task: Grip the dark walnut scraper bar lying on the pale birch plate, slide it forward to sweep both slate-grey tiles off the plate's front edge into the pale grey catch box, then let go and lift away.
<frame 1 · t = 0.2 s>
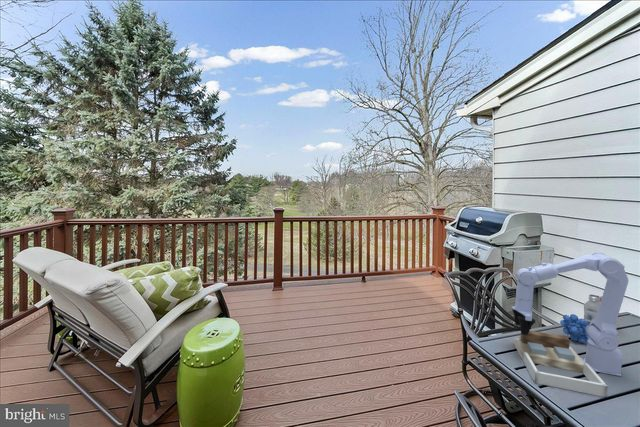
hand: (521, 329, 121), 10 cm above the table, tool pointing down, fingers open, 7 cm apart
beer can: (603, 330, 141), on the table
catch box: (561, 377, 107), on the table
birch plate: (547, 357, 119), on the table
far tile: (536, 351, 118), point 3 cm above the table, touching birch plate
grapes: (574, 341, 131), on the table
scraper bar: (543, 344, 123), point 3 cm above the table, touching birch plate
plastic bottle: (589, 338, 134), on the table
near tile: (563, 355, 115), point 3 cm above the table, touching birch plate
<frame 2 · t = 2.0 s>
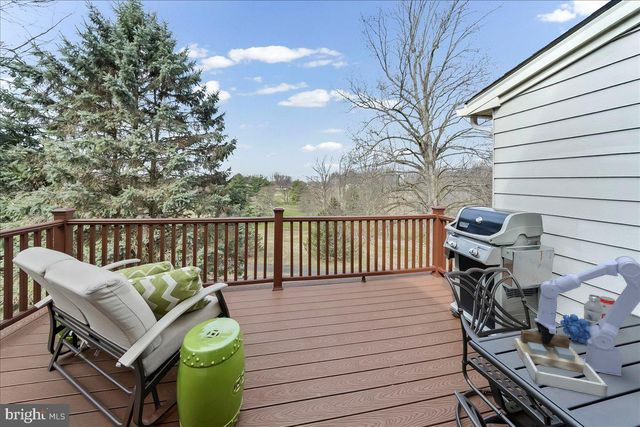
hand: (544, 341, 123), 4 cm above the table, tool pointing down, fingers closed on scraper bar, 3 cm apart
scraper bar: (543, 344, 123), point 3 cm above the table, touching birch plate, gripper
everything else where it was.
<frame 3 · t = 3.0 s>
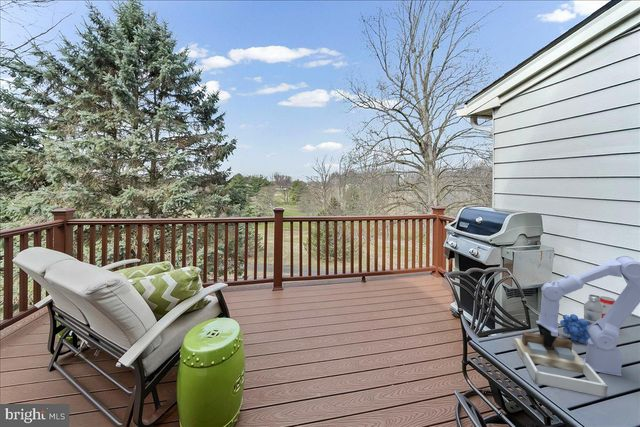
hand: (546, 344, 121), 4 cm above the table, tool pointing down, fingers closed on scraper bar, 3 cm apart
scraper bar: (545, 347, 121), point 3 cm above the table, touching gripper
everything else where it was.
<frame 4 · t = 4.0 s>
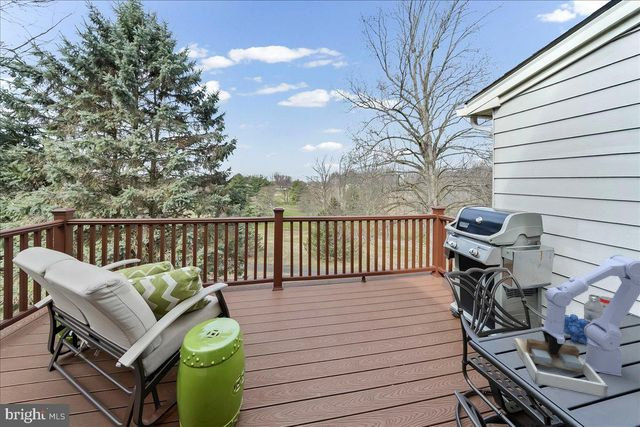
hand: (551, 351, 115), 4 cm above the table, tool pointing down, fingers closed on scraper bar, 3 cm apart
far tile: (540, 358, 113), point 3 cm above the table, touching birch plate, scraper bar
scraper bar: (551, 354, 116), point 3 cm above the table, touching far tile, gripper
near tile: (569, 363, 110), point 3 cm above the table
everything else where it was.
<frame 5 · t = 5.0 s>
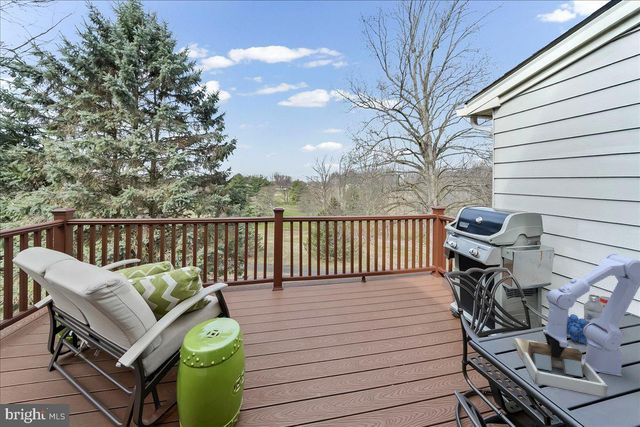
hand: (553, 354, 113), 4 cm above the table, tool pointing down, fingers closed on scraper bar, 3 cm apart
far tile: (541, 361, 113), point 2 cm above the table, tilted 64°
scraper bar: (553, 358, 114), point 3 cm above the table, touching birch plate, gripper
near tile: (570, 367, 109), point 2 cm above the table, tilted 55°
everything else where it was.
when the fingers open (4 cm above the table, at t = 5.9 s): scraper bar stays where it is, resting on birch plate.
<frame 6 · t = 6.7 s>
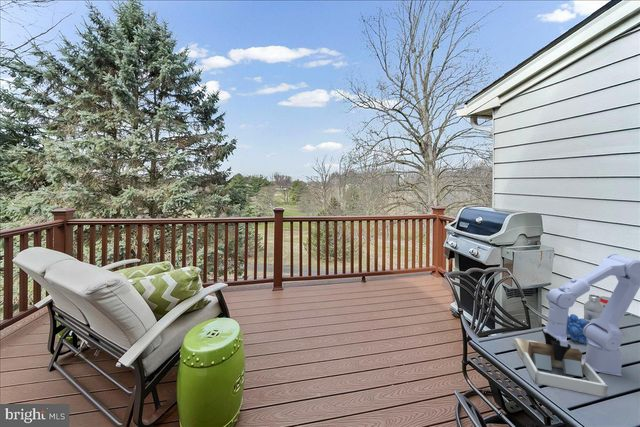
hand: (553, 354, 113), 5 cm above the table, tool pointing down, fingers open, 7 cm apart
scraper bar: (553, 358, 114), point 3 cm above the table, touching birch plate
everything else where it was.
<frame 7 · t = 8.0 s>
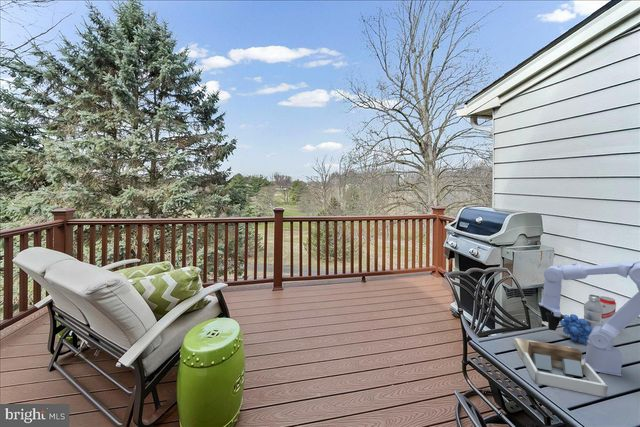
hand: (548, 325, 124), 10 cm above the table, tool pointing down, fingers open, 7 cm apart
far tile: (541, 361, 113), point 2 cm above the table, tilted 63°, touching scraper bar
scraper bar: (553, 358, 114), point 3 cm above the table, touching birch plate, far tile, near tile
near tile: (570, 367, 110), point 2 cm above the table, tilted 54°, touching scraper bar
everything else where it was.
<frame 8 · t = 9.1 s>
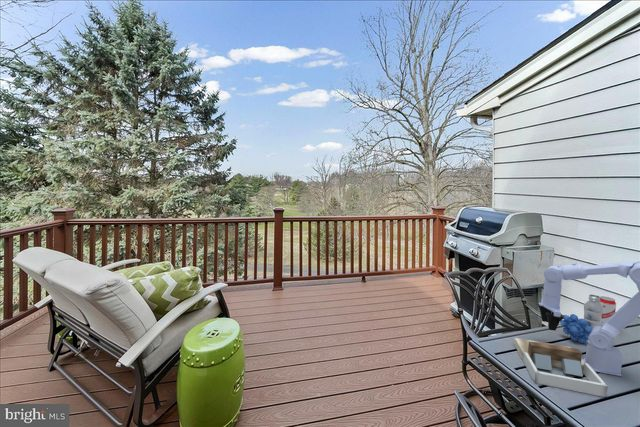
hand: (548, 325, 124), 10 cm above the table, tool pointing down, fingers open, 7 cm apart
far tile: (541, 361, 113), point 2 cm above the table, tilted 63°
scraper bar: (553, 357, 114), point 3 cm above the table, touching birch plate, near tile
everything else where it was.
at the end: near tile inside the target area (6.7 cm from its centre), point 2.0 cm above the table; far tile inside the target area (7.0 cm from its centre), point 2.2 cm above the table; scraper bar point 3.0 cm above the table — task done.
